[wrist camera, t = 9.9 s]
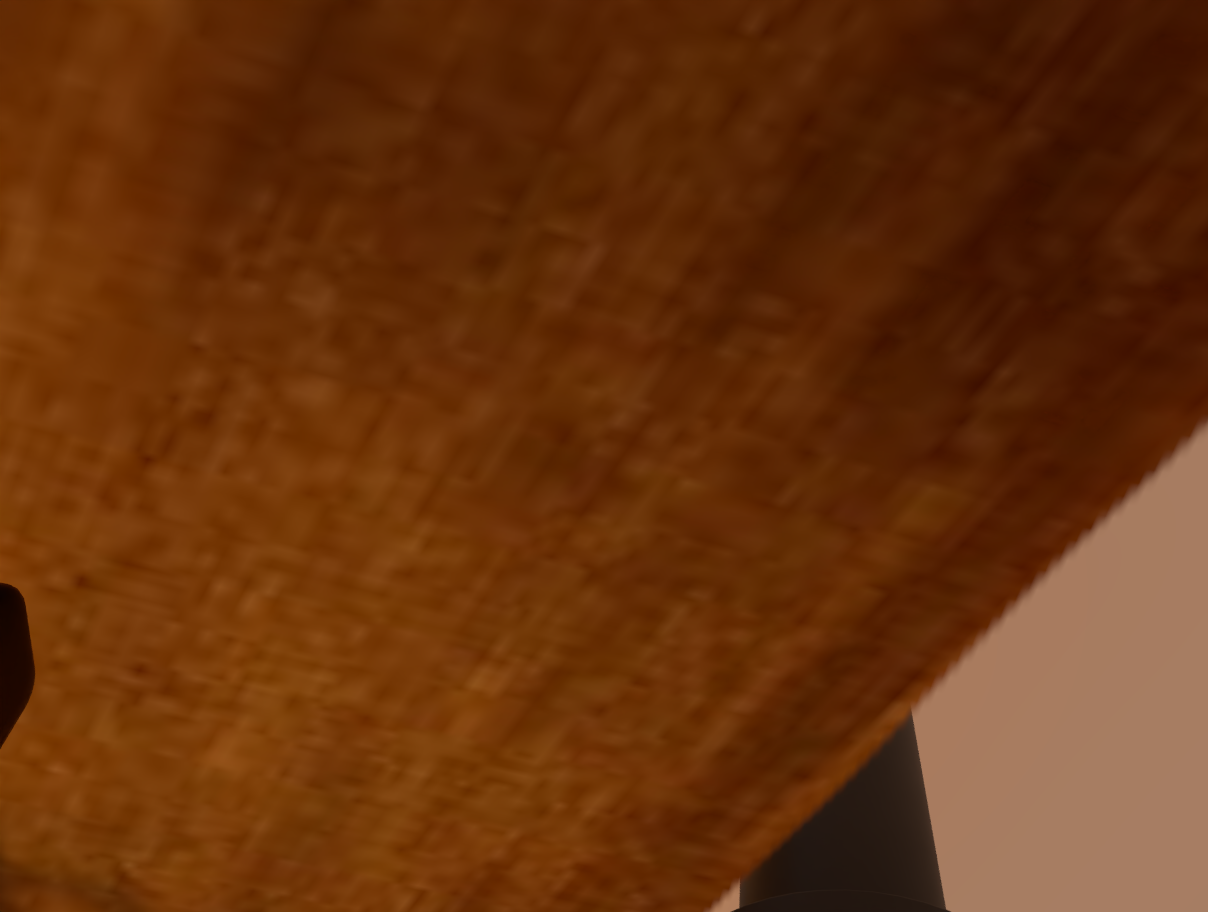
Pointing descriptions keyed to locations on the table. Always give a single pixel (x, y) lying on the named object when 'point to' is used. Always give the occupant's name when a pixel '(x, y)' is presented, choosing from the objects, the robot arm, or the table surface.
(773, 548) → the table surface
